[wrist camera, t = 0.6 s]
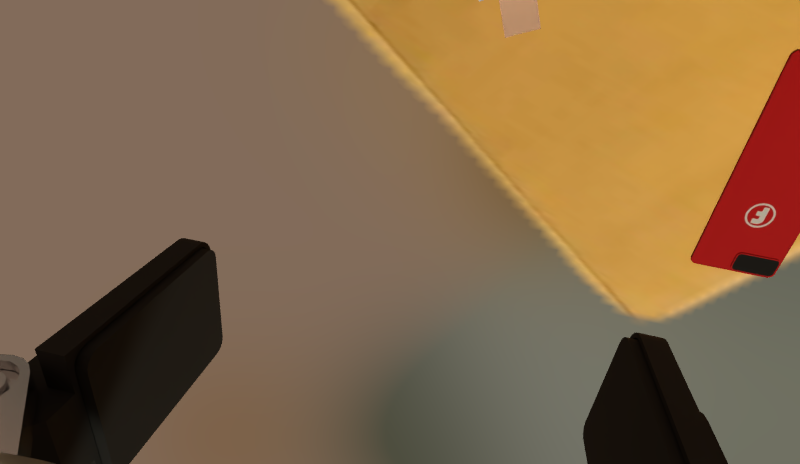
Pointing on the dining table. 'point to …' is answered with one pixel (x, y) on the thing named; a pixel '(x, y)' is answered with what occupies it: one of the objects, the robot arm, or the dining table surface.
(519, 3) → the block
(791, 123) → the electronic device
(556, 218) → the dining table surface
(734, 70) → the dining table surface
